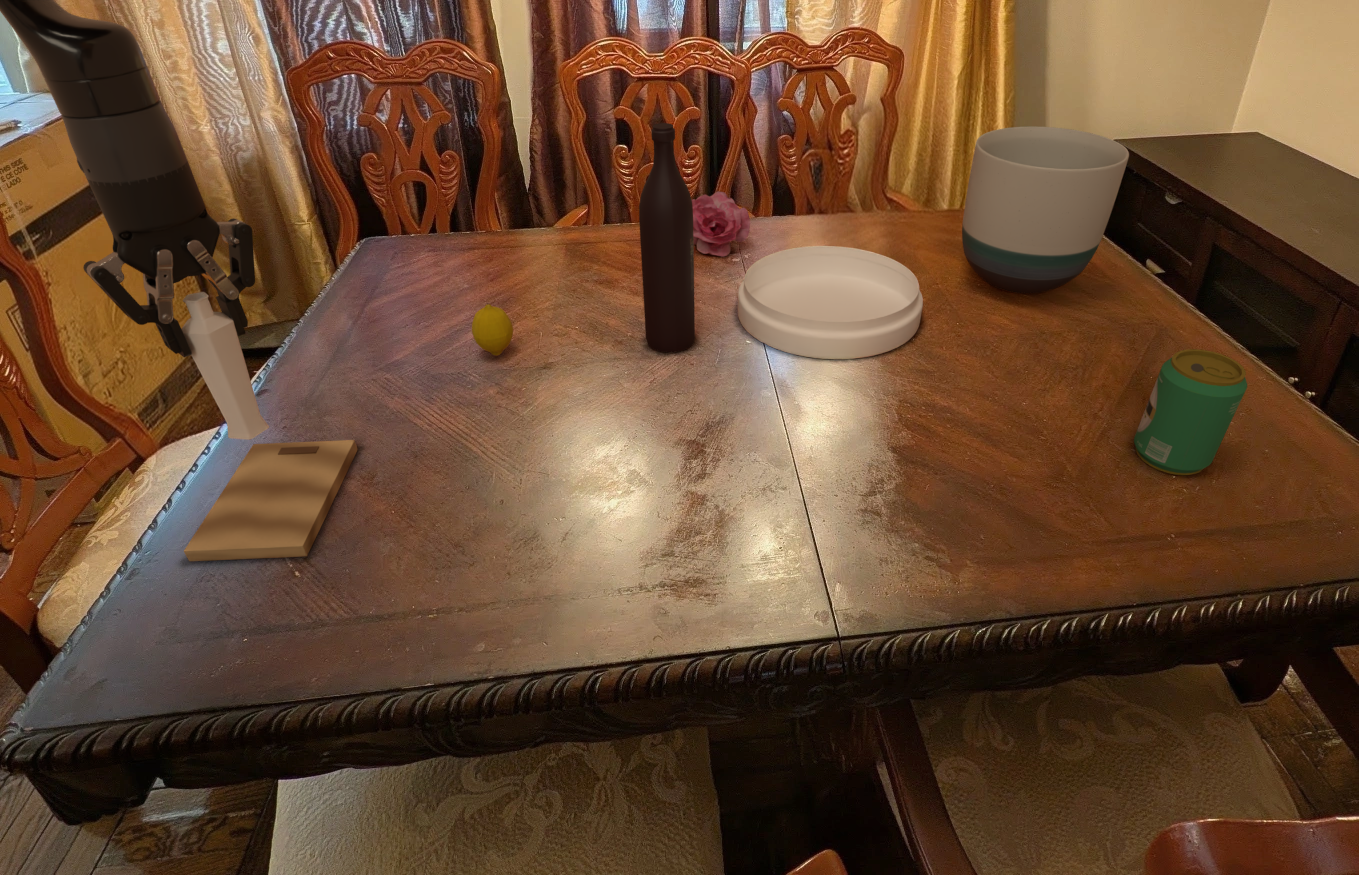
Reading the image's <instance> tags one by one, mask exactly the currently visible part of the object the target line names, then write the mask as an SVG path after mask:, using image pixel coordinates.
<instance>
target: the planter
mask: <svg viewBox="0 0 1359 875" xmlns="http://www.w3.org/2000/svg"><path fill="white" fill-rule="evenodd" d="M972 156H973V157H972V162H971V167H970V171H969V176H968V177H969V178H968V183H967V191H966V196H965V203H964V210H963V216H962V217H963V218H962V224H961V225H962V226H961V241H962V250H963V253H964V257H965V259H966V262H967V263H968V264H969V266H970V268H971V269H972V270H973V271H974V273H975V274H976V275H977V276H979V278H981V279H982V280H983V281H984V282H986V283H987V284H988V285H990V286H992V287H994V288H997V289H999V290H1001V291H1005V292H1009V293H1013V294H1014V293H1015V294H1024V295H1027V294H1028V295H1029V294H1030V295H1032V294H1040V293H1045V292H1048V291H1052V290H1055V289H1057V288H1059V287H1062V286H1064V285H1065V284H1068V283H1069V282H1071V281H1073V279H1075V278H1077V277H1078V276H1079V275H1080V274H1081V273H1082V272H1083V271H1084V270H1085V269H1086V267H1087V266H1089V264H1090V262H1091V260H1092V259H1093V258H1094V255H1095V254H1096V252H1097V250H1098V249H1099V246H1100V244H1101V241H1102V239H1103V236H1104V235H1105V234H1104V233H1105V231H1106V228H1107V225H1108V222H1109V219H1110V217H1111V214H1112V211H1113V209H1114V206H1115V202H1116V199H1117V196H1118V193H1119V190H1120V187H1121V183H1122V180H1123V177H1124V174H1125V171H1126V167H1127V164H1128V161H1129V158H1130V152H1129V151H1128V148H1126V147H1125V146H1124V145H1123V144H1121V143H1120V142H1118V141H1116V140H1114V139H1111V138H1108V137H1106V136H1103V135H1100V134H1097V133H1092V132H1087V131H1083V130H1077V129H1070V128H1065V127H1064V128H1063V127H1055V126H1051V127H1050V126H1014V127H1012V126H1011V127H1004V128H998V129H993V130H991V131H987V132H985V133H983V134H981V135H980V136H979V137H978V138H977V139H976V141H975V146H974V150H973V155H972Z"/></svg>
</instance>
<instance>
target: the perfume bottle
mask: <svg viewBox="0 0 1359 875" xmlns="http://www.w3.org/2000/svg"><path fill="white" fill-rule="evenodd" d="M182 302H183V303H185V306H186V308H187V310H188V312H189V315H190V317H189V318H188V319H187V320H186V321H185V323H184V324H183V326H182V327H181V329H182V331H183V334H184V336H185V338H186V340H187V343H188V345H189V347H190V349H191V352H192V355H190V356H191V357H192V360H193V361H194V364H195V365H196V368H197V369H198V371H199V372H200V374H201V377H202V379H203V381H204V382H205V384H206V386H207V388H208V391H210V394H211V396H212V398H213V399H214V401H215V403H216V405H217V407H218V408H219V411H220V413H221V415H222V416H223V418H224V420H225V422H226V426H227V437H228V439H231V440H232V439H233V440H252V439H254V438H256V437H257V436H259V435H260V434H262V433H263V432H265V431H266V430H268V429H269V428H270V425H269V424H268V423H267V421H266V420H265V419H264V418H263V416H262V414H261V412H260V409H259V405H258V402H257V397H256V395H255V390H254V388H253V384H252V381H251V378H250V373H249V371H248V367H247V363H246V360H245V357H244V353H243V350H242V346H241V343H240V339H239V336H237V332H236V329H235V325H234V322H233V320H232V319H231V318H229V317H228V316H227V315H225V314H224V313H222V311H214V310H213V307H212V305H211V302H210V300H209V294H208V293H206V292H205V291H199V292H194V293H188V294H186V295H185V296H184V297H183V299H182Z"/></svg>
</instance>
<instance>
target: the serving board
mask: <svg viewBox="0 0 1359 875" xmlns="http://www.w3.org/2000/svg"><path fill="white" fill-rule="evenodd" d="M357 452H358V445H357V443H356V440H355V439H344V440H321V441H320V440H319V441H318V440H317V441H316V440H315V441H295V442H291V441H290V442H269V443H267V442H266V443H253V444H252V445H251V447H250V448H249V450H248V451H247V453H246V455H245V456H244V458H243V459H242V461H241V463H240V464H239V465H238V467H237V468H236V470H235V472H234V473H233V475H232V476H231V477H230V479H229V481H228V482H227V484H226V485H225V486H224V488H223V490H222V491H221V492H220V495H219V496H218V497H217V499H216V500H215V502H214V503H213V505H212V507H211V508H210V510H209V511H208V513H207V514H206V516H205V517H204V519H203V521H202V522H201V524H200V525H199V527H198V528H197V530H196V532H195V533H194V534H193V535H192V537H191V539H189V540H190V541H189V542H188V543H187V544H186V546H185V547H184V549H183V553H184V555H185V557H186V558H187V560H188V562H208V561H233V560H253V559H277V558H278V559H279V558H299V557H300V558H301V557H308V555H309V553H310V551H311V549H312V547H313V544H314V543H315V540H316V538H317V537H318V534H319V532H320V530H321V528H322V526H323V524H324V522H325V519H326V517H327V515H328V514H329V511H330V509H331V507H332V504H333V503H334V501H335V498H336V497H337V494H338V492H339V490H340V488H341V486H342V484H343V482H344V480H345V477H346V475H347V473H348V471H349V469H350V467H351V465H352V463H353V461H354V459H355V456H356V454H357Z"/></svg>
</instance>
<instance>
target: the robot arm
mask: <svg viewBox="0 0 1359 875" xmlns="http://www.w3.org/2000/svg"><path fill="white" fill-rule="evenodd" d="M0 13H1V15H2V16H3V17H4V18H5V20H6V21H7V23H8V24H9V25H10V26H11V28H12V30H13V31H14V32H15V34H16V35H17V36H18V38H19V39H20V41H21V42H22V43H23V45H24V46H25V47H26V49H27V50H28V52H29V53H30V55H31V56H32V58H33V59H34V61H35V63H36V65H37V67H38V68H39V69H38V70H39V71H40V73H41V75H42V77H43V79H44V82H45V84H46V86H47V88H48V90H49V93H50V94H51V97H52V100H53V101H54V103H55V105H56V107H57V109H58V112H59V114H60V117H61V119H62V122H63V123H64V126H65V130H66V133H67V137H68V140H69V143H70V146H71V148H72V150H73V153H74V155H75V157H76V163H77V165H78V167H79V169H80V171H81V172H82V173H83V174H84V176H85V178H86V181H87V183H88V185H89V187H90V189H91V191H92V193H93V196H94V197H95V200H96V202H97V204H98V206H99V208H100V211H101V213H102V215H103V217H104V219H105V221H106V223H107V225H108V227H109V230H110V232H111V235H112V239H113V242H112V252H110V253H109V254H108V255H106V256H105V257H103V258H101V259H99V260H98V261H95V260H94V261H93V260H88V261H86V262H85V263H84V265H83V271H84V272H85V273H86V274H87V276H88V277H89V278H90V279H91V280H92V281H93V282H94V283H95V284H96V285H97V286H98V288H100V289H101V290H102V291H103V293H104V294H105V295H106V296H107V297H108V298H109V299H110V300H111V301H112V302H113V303H114V304H115V305H116V306H117V308H119V310H120V311H122V313H124V315H125V316H126V317H128V318H129V319H131V320H132V321H133V322H134V323H135V324H137V325H140V326H145V325H147V324H154V325H155V326H156V329H157V331H158V332H159V335H160V336H161V340H162V342H163V343H164V346H165V347H167V349H169V350H170V351H172V352H173V353H174V354H175V355H177V354H178V355H180V356H181V357H182V358H187V357H189V356H191V355H192V352H191V349H190V347H189V345H188V343H187V340H186V338H185V336H184V334H183V331H182V327H181V325H180V323H179V321H178V319H176V318H175V317H174V304H173V299H174V298H175V287H174V285H175V284H177V283H179V282H181V281H183V280H184V279H186V278H189V277H198V276H200V275H201V276H202V277H203V278H204V279H205V280H206V281H207V282H208V284H209V285H210V286H211V287H212V288H213V289H214V291H215V292H217V296H215V300H216V301H217V304H218V307H219V309H220V312H222V313H224V314H225V315H227V316H228V317H229V318H231V319H232V320H233V322H234V325H235V329H236V332H237V336H238V337H241V336H243V335H246V330H245V329H246V328H248V325H249V320H248V318H247V315H246V313H245V310H244V307H243V305H242V303H241V300H240V294H241V292H243V291H244V290H245V289H246V288H251V287H253V286H254V285H255V284H256V272H255V270H256V269H255V253H254V238H253V228H252V227H251V225H250V224H247V223H246V222H244V221H242V220H240V219H237V218H235V217H234V218H233V217H232V218H229V220H228V221H216V220H215V219H214V218H213V217H211V216H210V214H209V212H208V210H207V207H206V204H205V202H204V199H203V197H202V195H201V192H200V189H199V186H198V184H197V182H196V179H195V176H194V173H193V171H192V168H191V166H190V163H189V160H188V158H187V155H186V153H185V150H184V148H183V145H182V143H181V140H180V137H179V135H178V132H177V131H176V128H175V126H174V124H173V121H172V119H171V117H169V115H168V112H167V111H166V109H165V107H164V104H163V102H162V101H161V98H160V95H159V93H158V90H157V87H156V85H155V82H154V80H153V77H152V75H151V72H150V70H149V67H148V65H147V61H146V59H145V57H144V54H143V51H142V49H141V47H140V44H139V42H138V40H137V38H136V37H135V35H134V34H133V32H132V31H131V30H129V28H127V27H126V26H125V25H122V24H119V23H117V22H113V21H107V20H101V19H95V18H88V17H82V16H79V15H76V14H72V13H71V12H68V11H67V10H65V9H64V8H63V7H61V5H59V4H58V3H57V2H56V1H55V0H0ZM220 235H221V238H222V241H223V242H224V243H225V244H227V245H228V257H229V273H230V274H229V275H228V276H227V273H226V272H225V271H224V269H222V267H221V266H220V265H219V264H218V263H217V261H216V260H215V259H214V258H213V257H214V254H215V251H216V248H217V244H218V240H219V237H220ZM125 264H126V265H128V266H129V267H130V268H132V269H134V270H136V271H138V272H140V273H141V274H142V280H143V287H144V290H145V293H146V302H147V304H141V305H140V303H139V302H138V301H137V300H136V299H135V298H134V297H133V295H131V294H130V293H129V291H127V289H126V288H125V287H124V286H123V285H122V284H121V283H123V282H124V280H125V274H124V272H123V270H122V269H123V268H122V267H123V266H124V265H125Z"/></svg>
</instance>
